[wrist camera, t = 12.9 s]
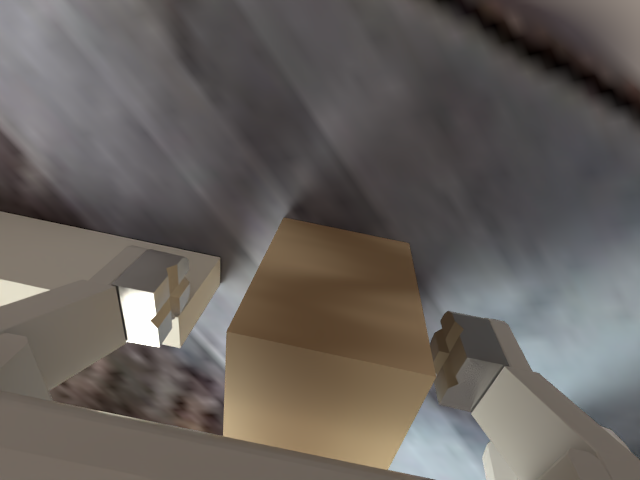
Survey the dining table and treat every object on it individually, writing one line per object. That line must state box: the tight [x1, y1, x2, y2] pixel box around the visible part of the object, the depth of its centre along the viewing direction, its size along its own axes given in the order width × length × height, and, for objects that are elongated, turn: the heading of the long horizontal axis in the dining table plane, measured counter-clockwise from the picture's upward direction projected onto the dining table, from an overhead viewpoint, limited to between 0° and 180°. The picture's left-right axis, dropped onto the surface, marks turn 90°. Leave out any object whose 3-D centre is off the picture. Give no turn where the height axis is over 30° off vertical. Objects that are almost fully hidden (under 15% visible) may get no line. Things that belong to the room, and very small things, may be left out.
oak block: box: [223, 218, 436, 470], centre depth 10 cm, size 4×4×5 cm
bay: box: [0, 211, 220, 348], centre depth 16 cm, size 16×20×3 cm
